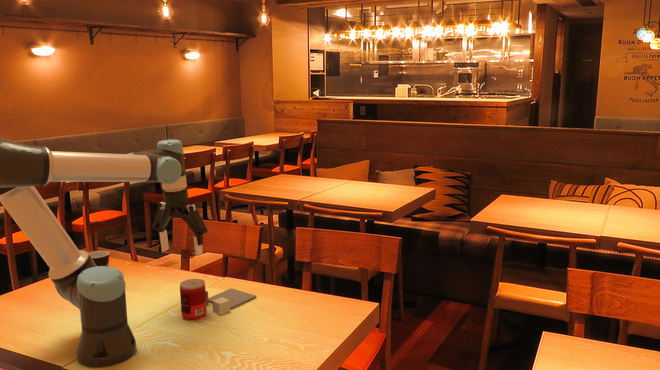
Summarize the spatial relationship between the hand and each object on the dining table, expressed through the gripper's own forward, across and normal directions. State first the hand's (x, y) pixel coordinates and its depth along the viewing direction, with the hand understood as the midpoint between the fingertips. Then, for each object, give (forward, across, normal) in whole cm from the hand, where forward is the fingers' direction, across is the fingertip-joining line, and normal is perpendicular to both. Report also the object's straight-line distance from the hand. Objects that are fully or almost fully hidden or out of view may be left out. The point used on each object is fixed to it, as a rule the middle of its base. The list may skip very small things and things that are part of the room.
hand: (182, 252), depth 181 cm
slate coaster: (+20, -10, -10) cm, 24 cm away
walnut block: (+19, -3, -2) cm, 19 cm away
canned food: (+19, -7, +6) cm, 21 cm away
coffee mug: (+18, +46, -8) cm, 50 cm away
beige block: (+19, -13, 0) cm, 23 cm away
